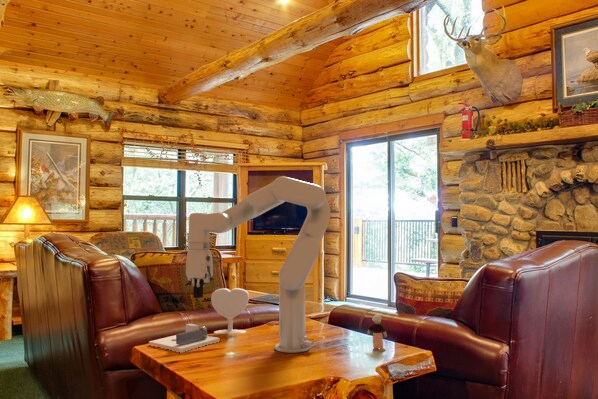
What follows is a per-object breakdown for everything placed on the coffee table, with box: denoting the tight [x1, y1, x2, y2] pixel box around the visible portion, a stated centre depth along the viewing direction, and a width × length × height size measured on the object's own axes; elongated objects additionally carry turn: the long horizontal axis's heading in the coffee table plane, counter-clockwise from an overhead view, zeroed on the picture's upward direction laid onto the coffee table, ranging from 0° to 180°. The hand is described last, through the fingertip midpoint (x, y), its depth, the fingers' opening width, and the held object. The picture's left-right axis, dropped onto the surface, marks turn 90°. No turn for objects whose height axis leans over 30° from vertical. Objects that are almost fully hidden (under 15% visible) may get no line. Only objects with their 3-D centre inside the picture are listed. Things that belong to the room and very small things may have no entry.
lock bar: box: [175, 326, 208, 345], centre depth 183 cm, size 14×3×4 cm, turn 144°
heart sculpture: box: [210, 287, 250, 334], centre depth 206 cm, size 16×5×18 cm, turn 91°
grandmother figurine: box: [366, 313, 388, 353], centre depth 175 cm, size 8×4×13 cm, turn 65°
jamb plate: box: [148, 323, 221, 354], centre depth 186 cm, size 18×19×6 cm
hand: (198, 297), depth 177 cm, fingers closed
